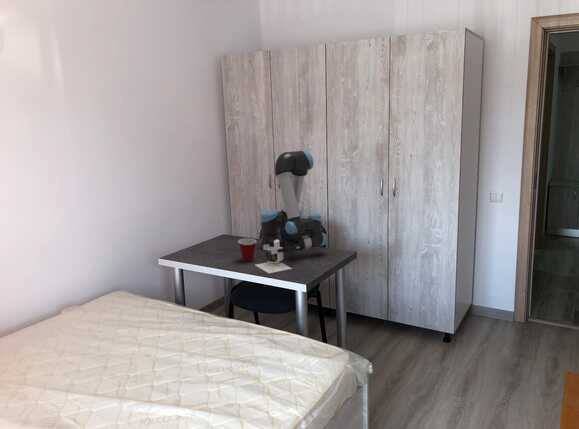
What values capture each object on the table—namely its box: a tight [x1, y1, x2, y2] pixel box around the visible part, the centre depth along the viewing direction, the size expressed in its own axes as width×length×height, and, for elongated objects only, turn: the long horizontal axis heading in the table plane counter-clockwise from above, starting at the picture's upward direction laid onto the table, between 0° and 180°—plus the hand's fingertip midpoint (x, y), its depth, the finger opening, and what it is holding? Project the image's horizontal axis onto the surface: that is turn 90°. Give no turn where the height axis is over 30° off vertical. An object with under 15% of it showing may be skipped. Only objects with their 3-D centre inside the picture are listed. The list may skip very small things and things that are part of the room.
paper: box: [254, 261, 292, 274], centre depth 264 cm, size 18×14×1 cm
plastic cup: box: [237, 238, 257, 263], centre depth 277 cm, size 11×11×12 cm
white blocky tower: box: [265, 239, 284, 263], centre depth 268 cm, size 7×7×12 cm
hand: (267, 249), depth 265 cm, fingers closed on white blocky tower, 10 cm apart
